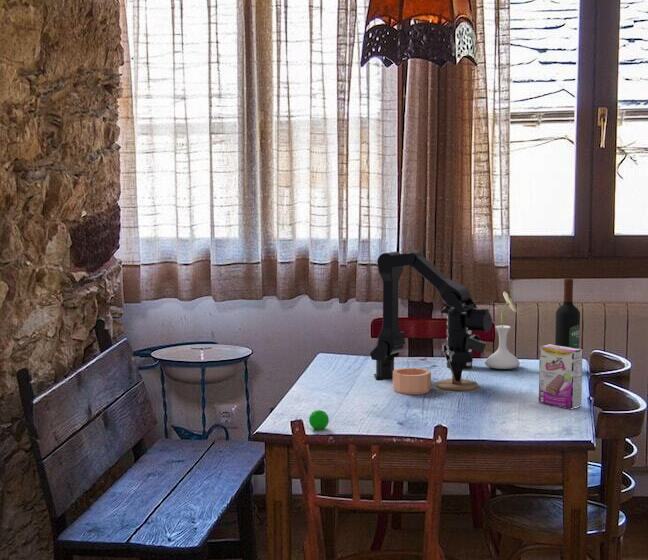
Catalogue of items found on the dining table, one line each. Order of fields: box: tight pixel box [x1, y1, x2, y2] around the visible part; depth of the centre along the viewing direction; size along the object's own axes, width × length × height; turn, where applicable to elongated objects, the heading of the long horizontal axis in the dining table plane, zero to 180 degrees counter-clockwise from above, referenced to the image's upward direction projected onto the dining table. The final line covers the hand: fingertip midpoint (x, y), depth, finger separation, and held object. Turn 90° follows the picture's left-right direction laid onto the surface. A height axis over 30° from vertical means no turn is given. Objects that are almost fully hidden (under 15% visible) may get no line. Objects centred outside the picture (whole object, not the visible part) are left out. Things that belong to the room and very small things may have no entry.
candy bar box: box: [538, 343, 584, 409], centre depth 284 cm, size 11×5×16 cm, turn 44°
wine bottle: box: [554, 278, 581, 349], centre depth 326 cm, size 8×8×30 cm
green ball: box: [308, 409, 330, 431], centre depth 262 cm, size 5×5×5 cm
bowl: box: [392, 367, 432, 395], centre depth 303 cm, size 11×11×6 cm
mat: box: [431, 380, 485, 394], centre depth 307 cm, size 14×14×1 cm
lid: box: [436, 372, 478, 391], centre depth 306 cm, size 12×12×6 cm
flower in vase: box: [484, 291, 521, 370], centre depth 334 cm, size 13×11×25 cm
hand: (456, 380), depth 307 cm, fingers closed on lid, 3 cm apart
